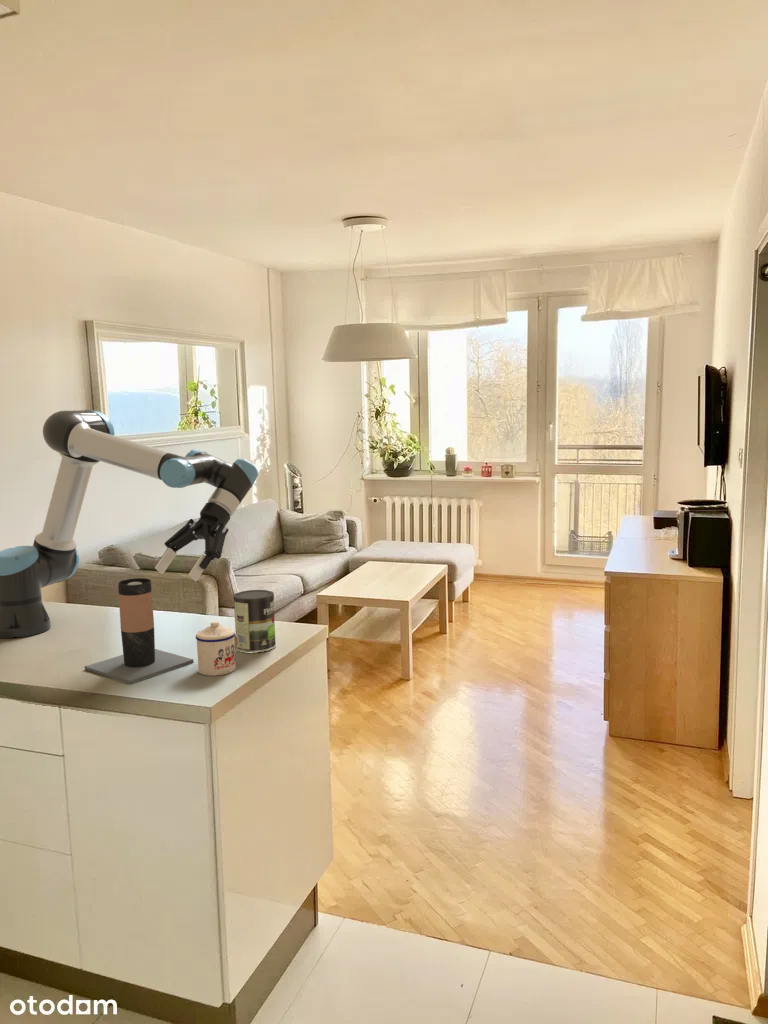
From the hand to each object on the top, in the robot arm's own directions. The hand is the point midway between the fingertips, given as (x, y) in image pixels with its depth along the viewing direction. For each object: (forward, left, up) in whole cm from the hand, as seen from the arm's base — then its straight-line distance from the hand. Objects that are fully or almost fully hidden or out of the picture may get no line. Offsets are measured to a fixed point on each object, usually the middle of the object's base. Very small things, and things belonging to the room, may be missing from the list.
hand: (175, 574), depth 198 cm
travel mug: (+3, -14, -19) cm, 24 cm away
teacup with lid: (+21, -4, -20) cm, 29 cm away
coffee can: (+16, +12, -20) cm, 28 cm away
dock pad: (+3, -14, -20) cm, 24 cm away
